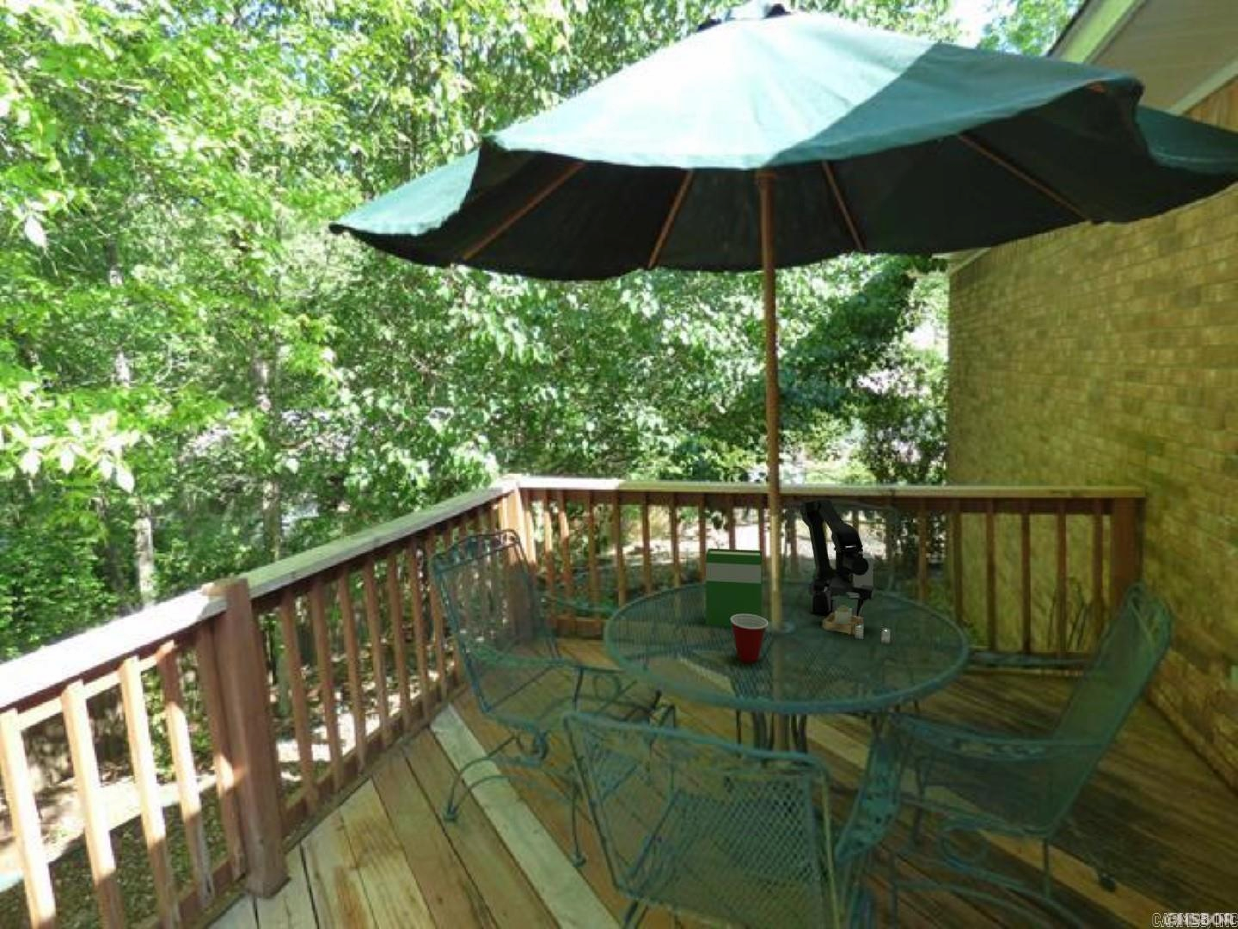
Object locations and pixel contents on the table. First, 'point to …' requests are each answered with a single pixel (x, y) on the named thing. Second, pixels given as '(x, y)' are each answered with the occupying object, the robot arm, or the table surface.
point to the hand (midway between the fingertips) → (843, 614)
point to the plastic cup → (748, 636)
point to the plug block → (843, 615)
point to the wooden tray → (849, 629)
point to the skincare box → (863, 576)
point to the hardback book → (732, 584)
